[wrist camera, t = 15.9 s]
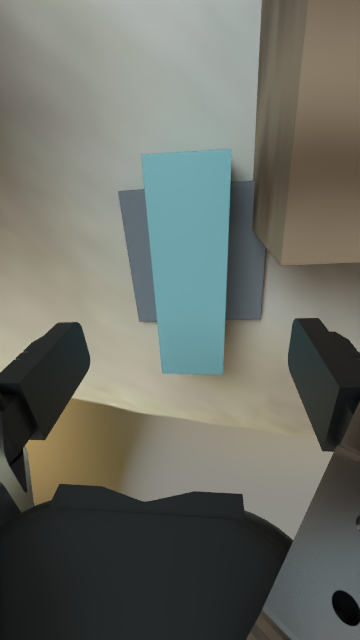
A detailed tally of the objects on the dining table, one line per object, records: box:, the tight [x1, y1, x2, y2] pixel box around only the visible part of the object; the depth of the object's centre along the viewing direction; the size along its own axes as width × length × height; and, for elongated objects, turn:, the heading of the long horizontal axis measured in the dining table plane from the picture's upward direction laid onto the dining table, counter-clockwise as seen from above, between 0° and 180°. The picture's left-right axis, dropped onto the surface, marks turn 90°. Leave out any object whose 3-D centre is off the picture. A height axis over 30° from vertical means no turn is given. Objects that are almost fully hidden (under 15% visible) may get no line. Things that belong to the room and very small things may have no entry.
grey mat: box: [118, 181, 266, 322], centre depth 20 cm, size 10×10×1 cm
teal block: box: [141, 149, 232, 375], centre depth 18 cm, size 14×4×4 cm, turn 3°
